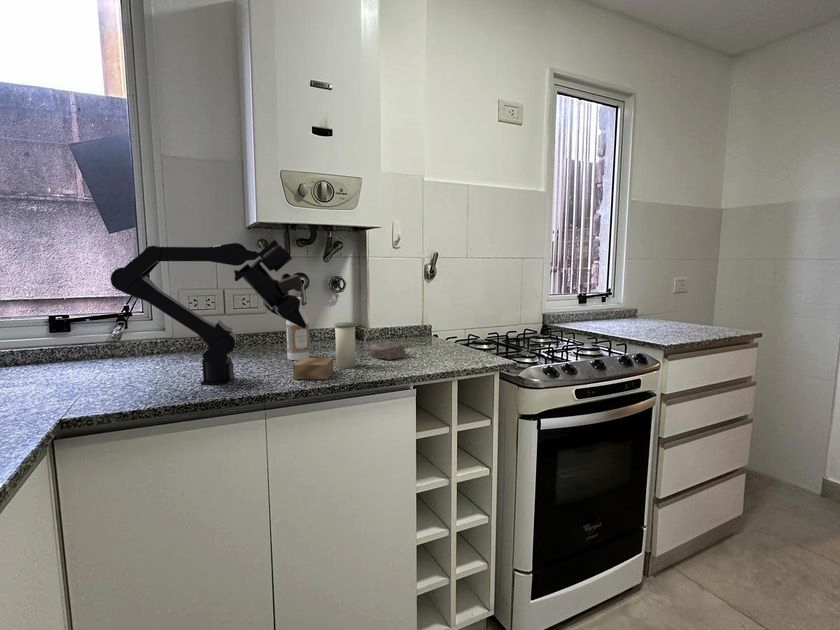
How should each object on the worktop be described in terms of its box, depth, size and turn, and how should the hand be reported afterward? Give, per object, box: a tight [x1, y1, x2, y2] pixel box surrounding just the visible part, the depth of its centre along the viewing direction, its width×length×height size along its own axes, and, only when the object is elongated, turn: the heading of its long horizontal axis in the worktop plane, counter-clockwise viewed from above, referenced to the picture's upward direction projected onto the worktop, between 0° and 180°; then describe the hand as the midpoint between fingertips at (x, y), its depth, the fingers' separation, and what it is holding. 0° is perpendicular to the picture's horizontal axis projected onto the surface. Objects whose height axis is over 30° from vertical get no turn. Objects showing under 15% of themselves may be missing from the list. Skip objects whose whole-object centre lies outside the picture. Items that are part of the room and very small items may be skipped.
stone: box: [368, 341, 406, 361], centre depth 146 cm, size 12×9×5 cm
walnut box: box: [292, 357, 335, 380], centre depth 121 cm, size 9×9×4 cm
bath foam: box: [285, 296, 311, 362], centre depth 141 cm, size 7×7×20 cm
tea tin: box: [334, 321, 357, 369], centre depth 132 cm, size 6×6×13 cm
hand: (300, 324), depth 124 cm, fingers open, 9 cm apart
